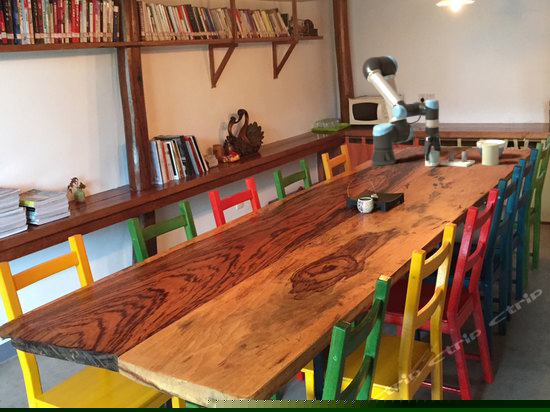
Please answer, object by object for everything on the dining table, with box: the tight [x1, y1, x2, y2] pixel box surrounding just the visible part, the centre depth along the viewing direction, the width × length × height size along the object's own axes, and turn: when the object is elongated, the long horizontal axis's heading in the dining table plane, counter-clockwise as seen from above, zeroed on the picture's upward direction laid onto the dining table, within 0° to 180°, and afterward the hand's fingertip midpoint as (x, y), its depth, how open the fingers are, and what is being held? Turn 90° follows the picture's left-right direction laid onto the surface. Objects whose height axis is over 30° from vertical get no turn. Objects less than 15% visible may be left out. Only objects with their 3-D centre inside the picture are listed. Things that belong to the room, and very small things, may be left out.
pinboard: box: [439, 149, 476, 168], centre depth 369 cm, size 16×12×8 cm
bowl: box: [476, 139, 506, 157], centre depth 380 cm, size 16×16×10 cm
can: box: [481, 143, 500, 167], centre depth 362 cm, size 9×9×12 cm
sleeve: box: [429, 150, 440, 167], centre depth 370 cm, size 6×6×8 cm
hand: (432, 164), depth 371 cm, fingers open, 11 cm apart
